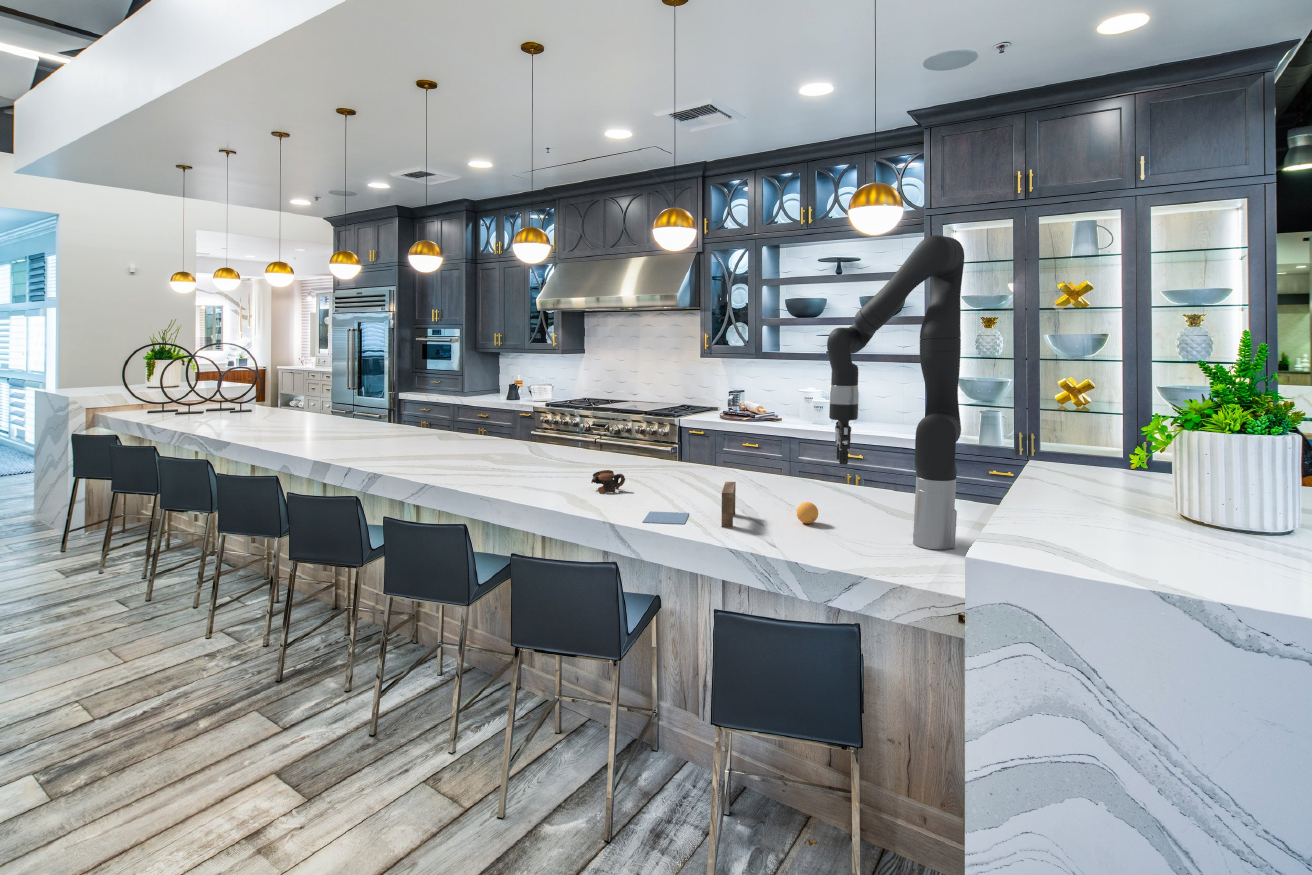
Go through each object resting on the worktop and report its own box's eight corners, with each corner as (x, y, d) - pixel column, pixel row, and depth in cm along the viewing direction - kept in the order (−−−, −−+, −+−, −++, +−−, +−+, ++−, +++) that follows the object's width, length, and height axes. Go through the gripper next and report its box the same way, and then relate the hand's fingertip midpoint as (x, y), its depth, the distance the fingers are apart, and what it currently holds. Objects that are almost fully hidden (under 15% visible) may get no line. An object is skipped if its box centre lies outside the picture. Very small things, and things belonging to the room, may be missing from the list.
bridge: (735, 513, 203) (735, 481, 202) (732, 527, 188) (732, 493, 187) (725, 513, 204) (725, 481, 202) (721, 527, 189) (721, 492, 188)
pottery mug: (590, 495, 231) (586, 472, 233) (598, 501, 239) (594, 479, 242) (624, 487, 229) (620, 464, 232) (631, 493, 238) (627, 471, 241)
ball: (817, 520, 195) (817, 500, 194) (818, 526, 189) (819, 505, 188) (795, 520, 196) (796, 499, 195) (796, 525, 190) (797, 504, 189)
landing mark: (689, 513, 204) (689, 512, 204) (684, 524, 192) (684, 523, 192) (649, 512, 206) (649, 511, 206) (642, 522, 194) (642, 521, 194)
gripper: (861, 404, 178) (859, 466, 181) (855, 399, 192) (853, 457, 195) (832, 404, 179) (830, 466, 182) (827, 399, 193) (825, 457, 196)
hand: (842, 461), depth 188 cm, fingers open, 7 cm apart
